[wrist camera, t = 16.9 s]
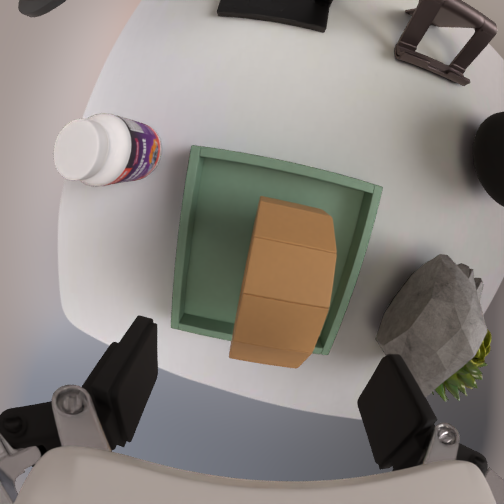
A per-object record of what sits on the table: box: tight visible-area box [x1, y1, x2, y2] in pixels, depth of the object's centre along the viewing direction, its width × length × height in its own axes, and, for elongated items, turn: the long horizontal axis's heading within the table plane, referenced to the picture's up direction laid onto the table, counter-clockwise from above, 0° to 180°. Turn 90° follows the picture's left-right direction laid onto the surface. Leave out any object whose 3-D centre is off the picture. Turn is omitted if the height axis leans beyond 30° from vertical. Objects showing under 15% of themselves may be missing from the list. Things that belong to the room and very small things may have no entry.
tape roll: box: [229, 196, 337, 368], centre depth 19 cm, size 4×11×11 cm, turn 169°
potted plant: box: [376, 254, 491, 402], centre depth 21 cm, size 12×13×15 cm
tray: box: [171, 145, 383, 355], centre depth 24 cm, size 16×17×3 cm
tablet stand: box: [395, 0, 497, 86], centre depth 13 cm, size 9×8×8 cm
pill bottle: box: [53, 113, 162, 186], centre depth 18 cm, size 5×5×10 cm
